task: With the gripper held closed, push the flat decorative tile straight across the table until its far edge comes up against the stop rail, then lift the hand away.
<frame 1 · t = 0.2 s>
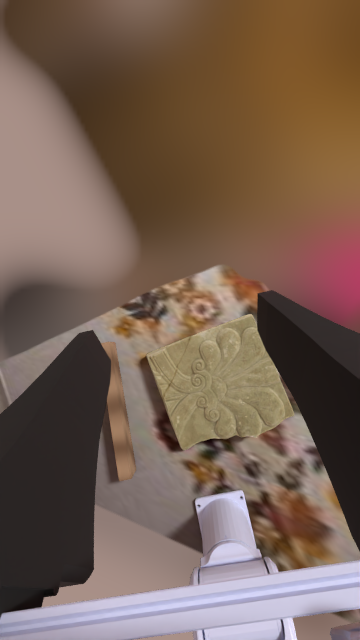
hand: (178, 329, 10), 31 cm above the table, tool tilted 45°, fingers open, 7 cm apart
stop rail: (119, 404, 40), on the table
decorative tile: (217, 383, 40), on the table
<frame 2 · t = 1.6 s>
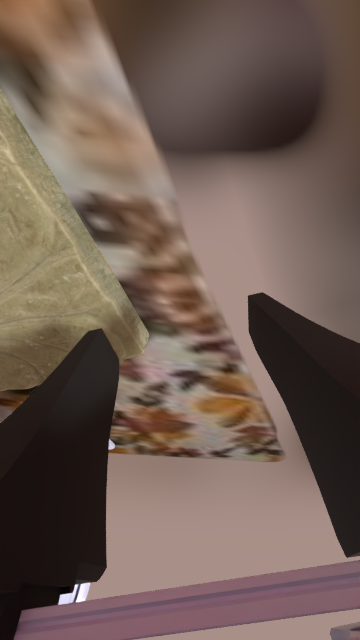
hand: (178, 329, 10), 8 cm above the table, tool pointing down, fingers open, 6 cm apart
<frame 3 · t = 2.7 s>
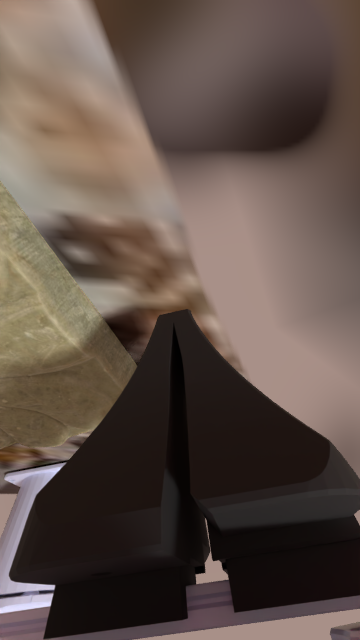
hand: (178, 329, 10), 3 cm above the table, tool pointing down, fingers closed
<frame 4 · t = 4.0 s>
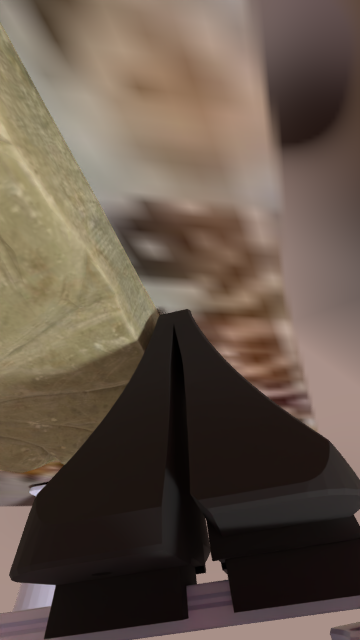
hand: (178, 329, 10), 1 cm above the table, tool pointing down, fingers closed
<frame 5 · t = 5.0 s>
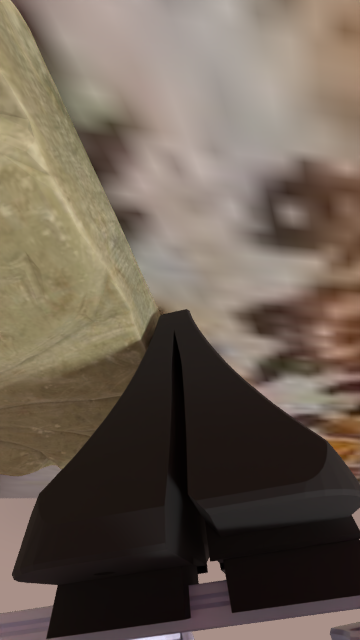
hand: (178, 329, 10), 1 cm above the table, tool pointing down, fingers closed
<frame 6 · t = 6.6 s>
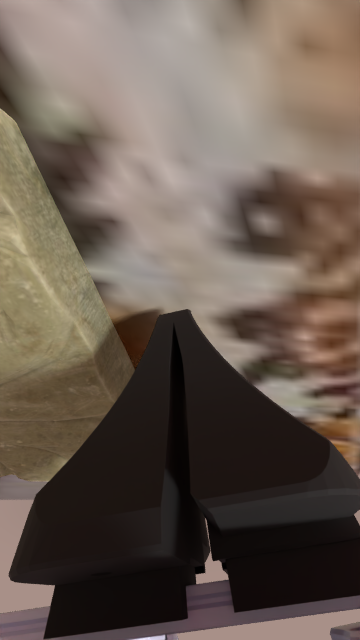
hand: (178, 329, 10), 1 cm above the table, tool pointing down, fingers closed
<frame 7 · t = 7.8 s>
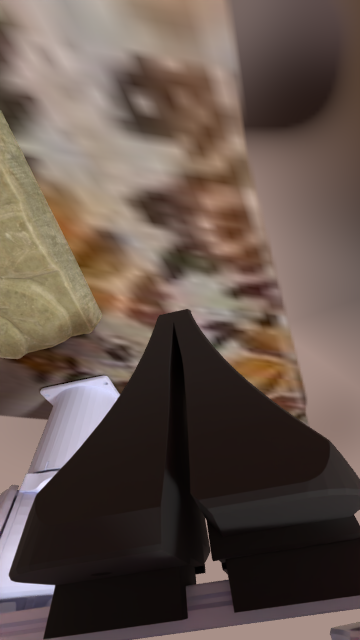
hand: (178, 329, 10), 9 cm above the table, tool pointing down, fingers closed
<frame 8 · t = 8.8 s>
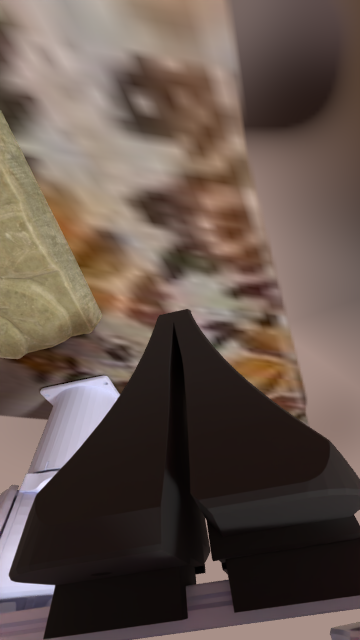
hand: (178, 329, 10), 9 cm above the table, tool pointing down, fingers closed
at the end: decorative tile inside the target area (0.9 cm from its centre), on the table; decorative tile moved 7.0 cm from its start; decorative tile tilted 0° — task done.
